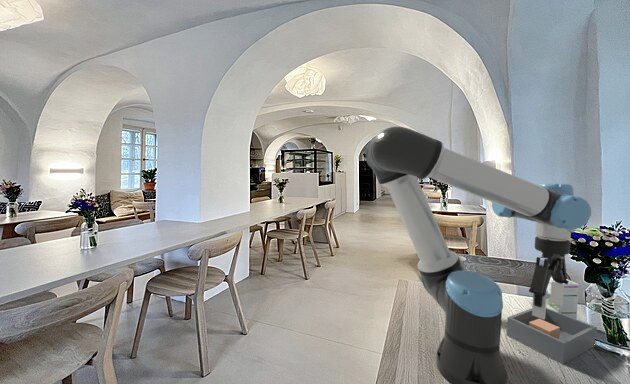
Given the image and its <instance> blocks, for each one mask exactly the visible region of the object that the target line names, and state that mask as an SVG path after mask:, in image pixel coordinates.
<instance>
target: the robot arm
mask: <svg viewBox="0 0 630 384" xmlns="http://www.w3.org/2000/svg"><path fill="white" fill-rule="evenodd" d="M365 159H366V163H367V166H368V167H369V168H370V169H371V170H372V171H373V172H374V175H375V178H376V179H377V181H378V184H379V185H380V186H381V187H384V188H386V189H387V190H388V193H389V195H390V197H391V199H392V202H393V203H394V206H395V208H396V210H397V213H398V215H399V217H400V218H401V221H402V223H403V225H404V228H405V230H406V232H407V235H408V236H409V239H410V241H411V243H412V245H413V247H414V250H415V253H416V254H417V256H418V258H419V261H418V263H417V269H418V271H419V273H420V279H421V283H422V285H423V288H424V289H425V291H426V292H427V293H428V295H430V296H431V297H432V298H433V300H434V301H435V302H436V303H437V304H438V306H439V307H440V308H441V309H442V310H443V311H444V314H445V316H444V318H445V321H444V335H443V336H442V339H441V342H440V343H439V346H438V348H437V351H436V355H435V358H436V360H435V364H436V367H437V369H438V371H439V373H440V374H441V376H442V377H444V378H445V379H446V380H447V382H449V383H451V384H508V373H507V370H506V366H505V363H504V360H503V356H502V353H501V350H500V349H501V348H500V345H501V331H502V314H503V309H504V301H503V291H502V289H501V288H500V286H499V285H498V284H497V283H496V282H495V281H494V280H493V279H492V278H490V277H488V276H486V275H481V274H479V273H478V272H475V271H469V270H465V267H464V268H463V266H462V264H461V261H460V259H459V257H458V256H459V255H458V254H457V252H454V251H453V250H450V248H449V247H448V244H447V242H446V240H445V238H444V236H443V233H442V230H441V229H440V227H439V225H438V221H437V220H436V217H435V216H434V213H433V211H432V208H431V207H430V205H429V202H428V199H427V198H426V195H425V192H424V191H423V188H422V187H421V184H420V182H419V179H421V180H425V179H429V178H431V179H433V180H435V181H438V182H440V183H443V184H445V185H448V186H451V187H453V188H455V189H458V190H461V191H463V192H466V193H468V194H471V195H473V196H474V197H475V196H476V197H478V198H480V199H484V200H485V201H489V202H491V208H492V211H493V213H494V214H495V215H496V216H498V217H501V218H502V217H503V218H509V219H510V218H519V219H522V220H526V221H531V222H535V231H534V234H535V235H536V236H535V238H534V249H535V250H536V251H538V252H540V253H542V254H541V256H540V257H539V256H537V257H536V259H535V268H534V271H533V276H532V279H531V284H530V288H529V290H528V292H529V293H531V294H532V315H533V316H536V317H538V318H541V319H545V313H546V297H547V296H546V290H547V287H548V284H549V281H550V278H551V277H552V278H553V281H552V282H551V298H550V302H551V303H554V304H557V305H560V306H563V293H564V284H568V281H567V279H568V274H567V267H566V256H567V255H569V254H570V252H571V241H570V239H571V236H572V235H571V234H572V233H574V232H575V230H577V229H580V228H582V227H584V226H585V225H586V224H587V223H588V222H589V220H590V218H591V216H592V208H591V205H590V203H589V202H588V201H587V200H586V199H584V198H583V197H581V196H577V195H574V187H573V185H572V184H570V183H555V182H554V183H553V182H552V183H551V182H550V183H549V182H547V183H545V182H543V183H539V184H536V183H533V182H531V181H529V180H526V179H524V178H521V177H519V176H515V175H513V174H511V173H508V172H506V171H503V170H501V169H498V168H496V167H493V166H490V165H489V164H486V163H483V162H481V161H478V160H476V159H473V158H471V157H469V156H466V155H462V154H460V153H458V152H455V151H453V150H451V149H449V148H445V145H444V143H443V141H440V140H439V139H436V138H433V137H431V136H429V135H426V134H424V133H421V132H419V131H417V130H414V129H412V128H408V127H404V126H390V127H388V128H385V129H383V130H382V131H380V132H379V133H378V134H376V135H374V136H373V138H371V140H369V142H368V144H367V146H366V149H365ZM554 281H555V282H554ZM562 283H564V284H562Z"/></svg>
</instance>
